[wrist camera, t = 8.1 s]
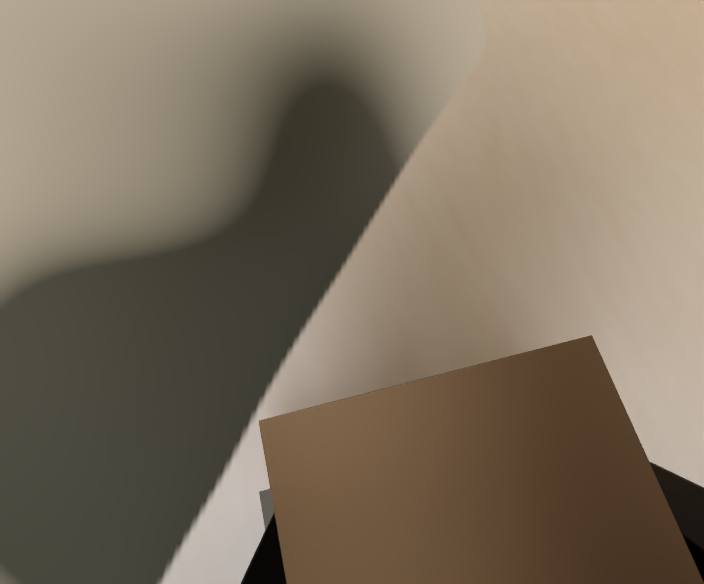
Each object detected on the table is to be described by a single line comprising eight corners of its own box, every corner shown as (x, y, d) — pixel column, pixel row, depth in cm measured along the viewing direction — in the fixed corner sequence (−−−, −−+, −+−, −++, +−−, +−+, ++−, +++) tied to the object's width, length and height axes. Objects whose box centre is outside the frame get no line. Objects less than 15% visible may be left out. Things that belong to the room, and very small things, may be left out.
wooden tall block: (365, 643, 14) (354, 977, 4) (325, 460, 15) (259, 420, 6) (517, 599, 14) (814, 826, 5) (461, 424, 16) (591, 335, 6)
